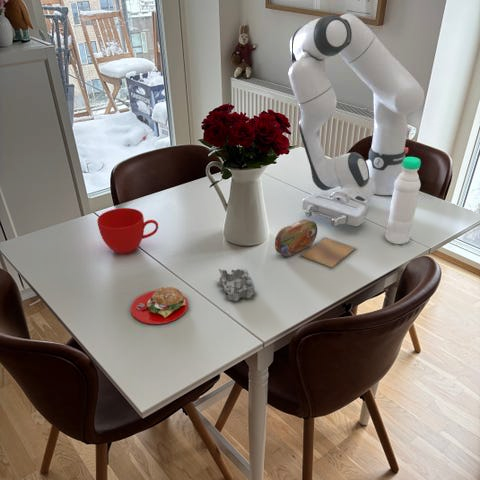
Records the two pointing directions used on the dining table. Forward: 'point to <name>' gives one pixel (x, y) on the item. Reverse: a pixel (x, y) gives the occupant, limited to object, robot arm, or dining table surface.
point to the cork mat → (328, 252)
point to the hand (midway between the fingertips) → (320, 218)
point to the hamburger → (159, 306)
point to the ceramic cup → (123, 229)
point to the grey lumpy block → (237, 284)
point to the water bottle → (404, 202)
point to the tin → (295, 237)
